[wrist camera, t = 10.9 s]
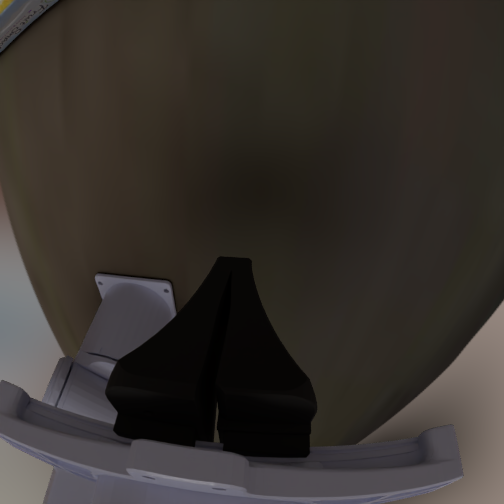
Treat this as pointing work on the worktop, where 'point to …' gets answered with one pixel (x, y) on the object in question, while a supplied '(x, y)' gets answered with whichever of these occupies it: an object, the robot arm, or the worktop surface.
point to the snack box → (19, 17)
